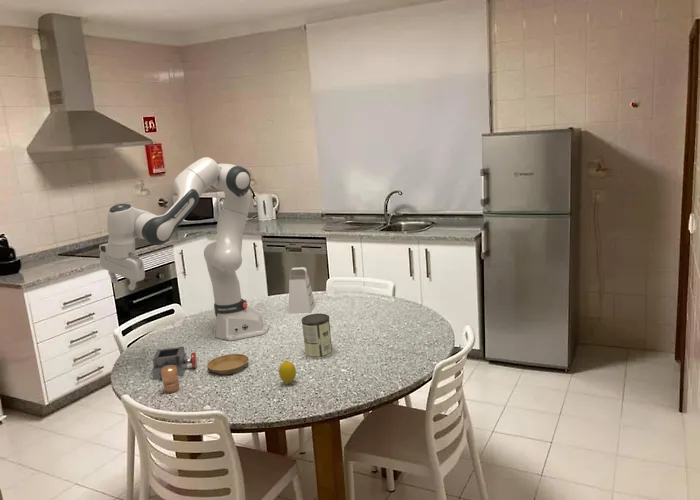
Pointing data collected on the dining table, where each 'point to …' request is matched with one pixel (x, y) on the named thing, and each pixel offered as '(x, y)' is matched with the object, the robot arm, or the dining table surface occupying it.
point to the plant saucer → (228, 363)
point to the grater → (300, 293)
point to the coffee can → (317, 336)
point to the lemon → (287, 371)
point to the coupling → (170, 379)
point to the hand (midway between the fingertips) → (122, 285)
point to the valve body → (172, 360)
